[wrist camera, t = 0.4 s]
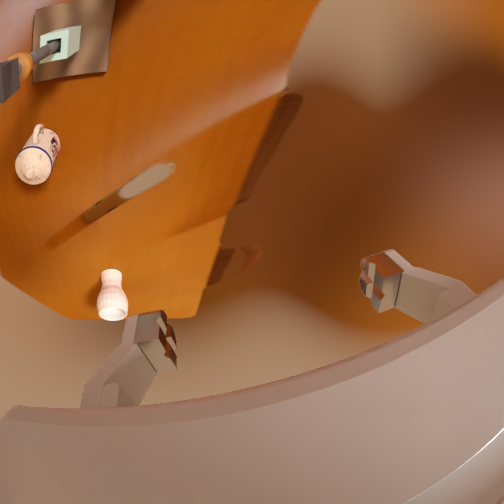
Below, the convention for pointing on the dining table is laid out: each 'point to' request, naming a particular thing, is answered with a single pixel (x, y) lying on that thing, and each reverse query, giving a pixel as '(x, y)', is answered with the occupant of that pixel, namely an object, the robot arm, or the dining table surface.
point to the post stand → (53, 18)
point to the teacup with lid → (37, 156)
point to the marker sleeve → (62, 42)
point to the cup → (112, 296)
